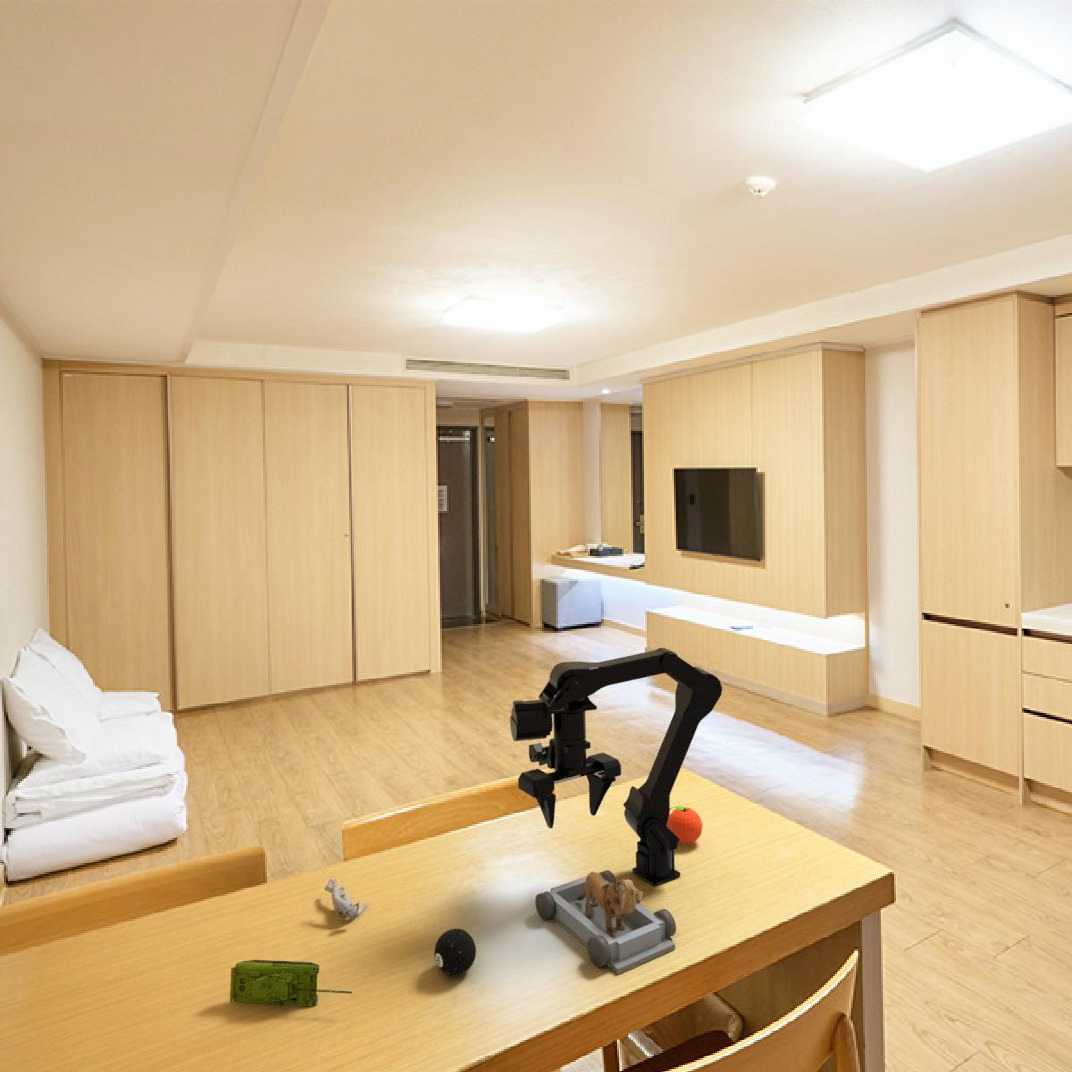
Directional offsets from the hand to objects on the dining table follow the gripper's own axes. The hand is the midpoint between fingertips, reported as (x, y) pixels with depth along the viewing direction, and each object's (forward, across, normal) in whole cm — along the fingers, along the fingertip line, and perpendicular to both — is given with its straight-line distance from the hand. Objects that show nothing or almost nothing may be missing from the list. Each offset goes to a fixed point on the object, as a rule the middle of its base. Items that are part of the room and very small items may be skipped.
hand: (571, 821), depth 134 cm
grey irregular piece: (+12, +37, -16) cm, 42 cm away
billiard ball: (+12, +28, +10) cm, 32 cm away
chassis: (+12, +3, +13) cm, 18 cm away
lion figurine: (+11, +2, +14) cm, 18 cm away
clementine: (+12, -28, -2) cm, 31 cm away
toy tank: (+12, +50, +5) cm, 52 cm away
